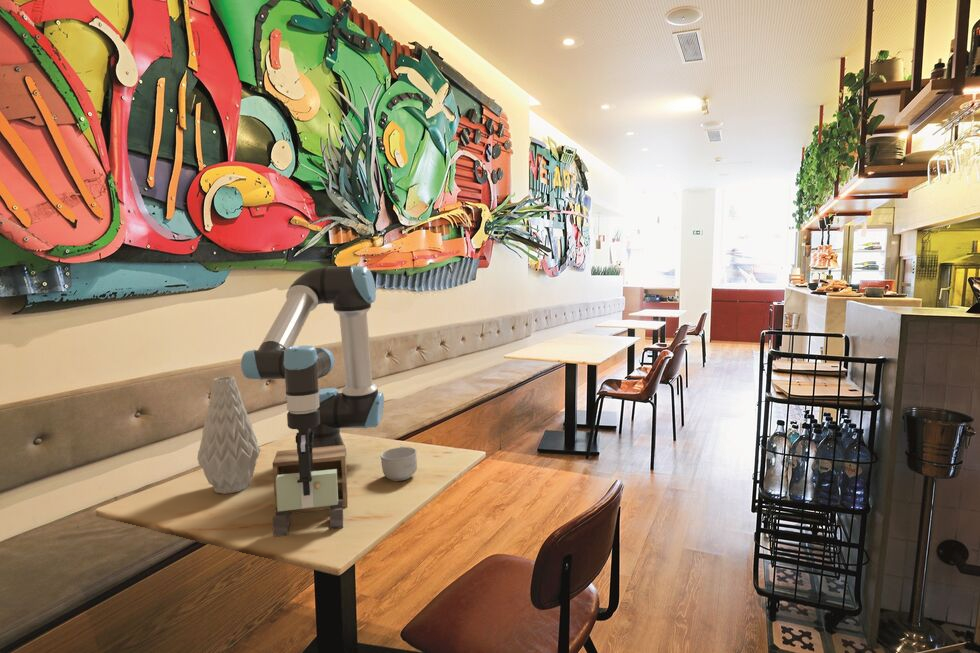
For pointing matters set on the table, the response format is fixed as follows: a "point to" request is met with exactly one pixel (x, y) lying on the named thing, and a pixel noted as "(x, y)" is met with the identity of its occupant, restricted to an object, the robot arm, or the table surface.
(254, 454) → the vase
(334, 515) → the wooden shelf unit
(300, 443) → the robot arm
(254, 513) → the table surface
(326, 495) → the door
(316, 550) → the table surface
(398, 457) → the teacup
